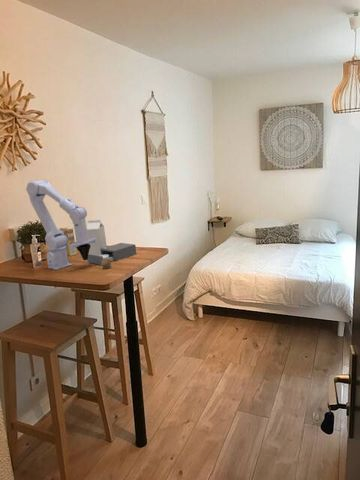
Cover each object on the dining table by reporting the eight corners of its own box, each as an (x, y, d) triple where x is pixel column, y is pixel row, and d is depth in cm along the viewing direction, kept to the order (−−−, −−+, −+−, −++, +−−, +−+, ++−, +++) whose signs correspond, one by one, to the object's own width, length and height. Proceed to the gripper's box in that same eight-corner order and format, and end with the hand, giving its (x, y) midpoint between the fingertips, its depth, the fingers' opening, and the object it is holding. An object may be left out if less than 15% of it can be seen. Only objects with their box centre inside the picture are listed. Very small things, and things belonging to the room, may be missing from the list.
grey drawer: (101, 264, 188) (100, 256, 187) (87, 262, 196) (86, 254, 195) (124, 257, 198) (123, 249, 197) (109, 255, 206) (108, 247, 205)
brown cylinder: (106, 269, 180) (104, 261, 179) (101, 268, 183) (99, 260, 182) (112, 267, 183) (111, 259, 182) (107, 266, 185) (106, 258, 185)
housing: (115, 260, 194) (114, 250, 193) (101, 258, 202) (100, 248, 201) (136, 254, 204) (135, 244, 203) (122, 251, 212) (120, 242, 211)
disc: (111, 258, 196) (111, 254, 195) (102, 260, 192) (102, 257, 191) (104, 256, 199) (104, 253, 199) (95, 259, 195) (95, 256, 195)
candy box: (77, 254, 217) (73, 227, 214) (70, 256, 214) (66, 229, 211) (70, 252, 223) (65, 226, 220) (63, 254, 220) (59, 228, 217)
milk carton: (102, 255, 207) (97, 221, 203) (90, 256, 209) (85, 222, 205) (107, 252, 214) (102, 219, 210) (95, 253, 216) (90, 219, 212)
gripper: (72, 236, 177) (77, 264, 180) (98, 230, 187) (102, 256, 190) (64, 235, 182) (69, 262, 184) (90, 229, 192) (94, 255, 195)
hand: (85, 259), depth 188 cm, fingers closed
